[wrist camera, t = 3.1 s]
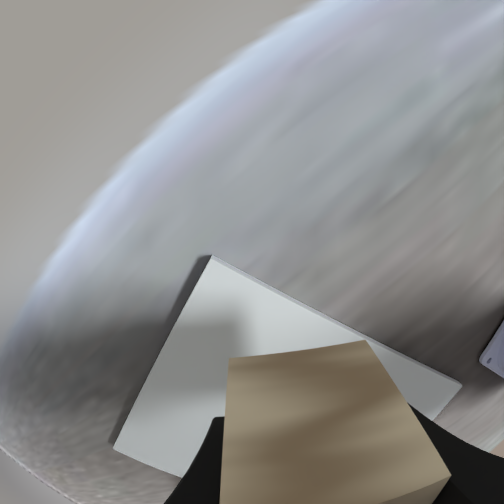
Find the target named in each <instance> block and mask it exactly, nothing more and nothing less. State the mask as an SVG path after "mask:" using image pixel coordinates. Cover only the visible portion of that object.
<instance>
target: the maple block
mask: <svg viewBox="0 0 504 504" xmlns="http://www.w3.org/2000/svg"><path fill="white" fill-rule="evenodd" d="M450 477H451V474H450V472H449V470H448V468H447V467H446V465H445V463H444V462H443V460H442V458H441V457H440V455H439V453H438V452H437V450H436V448H435V447H434V445H433V443H432V442H431V440H430V438H429V437H428V435H427V433H426V432H425V430H424V429H423V427H422V425H421V424H420V422H419V421H418V419H417V417H416V416H415V414H414V413H413V411H412V409H411V408H410V406H409V405H408V403H407V402H406V400H405V398H404V397H403V395H402V394H401V392H400V391H399V389H398V388H397V386H396V384H395V383H394V381H393V380H392V378H391V377H390V375H389V374H388V372H387V371H386V369H385V368H384V366H383V365H382V363H381V362H380V360H379V359H378V357H377V356H376V354H375V353H374V351H373V350H372V348H371V347H370V345H369V344H368V342H367V341H366V340H360V341H355V342H349V343H344V344H338V345H332V346H326V347H319V348H313V349H306V350H299V351H291V352H283V353H275V354H266V355H257V356H247V357H236V358H229V362H228V376H227V390H226V405H225V420H224V435H223V452H222V469H221V487H220V504H432V503H433V501H434V500H435V499H436V497H437V496H438V494H439V493H440V491H441V490H442V489H443V487H444V486H445V484H446V483H447V481H448V480H449V478H450Z"/></svg>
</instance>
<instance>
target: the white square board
mask: <svg viewBox="0 0 504 504" xmlns="http://www.w3.org/2000/svg"><path fill="white" fill-rule="evenodd" d="M360 340H366V341H367V342H368V344H369V345H370V347H371V348H372V350H373V351H374V353H375V354H376V356H377V357H378V359H379V360H380V362H381V363H382V365H383V366H384V368H385V369H386V371H387V372H388V374H389V375H390V377H391V378H392V380H393V381H394V383H395V384H396V386H397V388H398V389H399V391H400V392H401V394H402V395H403V397H404V398H405V400H406V402H408V403H409V404H410V405H411V406H413V407H414V408H415V409H417V410H418V411H419V412H420V413H422V414H423V415H424V416H426V417H427V418H429V419H430V420H431V421H432V420H433V419H434V418H435V417H436V416H437V415H438V414H439V413H440V412H441V411H442V409H443V408H444V407H445V406H446V405H447V404H448V403H449V401H450V400H451V399H452V398H453V397H454V396H455V394H456V393H457V392H458V391H459V390H460V388H461V387H462V385H461V383H460V382H459V381H457V380H455V379H453V378H451V377H449V376H447V375H445V374H442V373H440V372H438V371H436V370H434V369H432V368H430V367H428V366H426V365H424V364H422V363H420V362H418V361H416V360H414V359H412V358H410V357H408V356H406V355H404V354H402V353H400V352H398V351H396V350H394V349H392V348H390V347H388V346H386V345H384V344H382V343H380V342H378V341H376V340H374V339H372V338H370V337H368V336H366V335H364V334H362V333H360V332H358V331H356V330H354V329H352V328H350V327H348V326H346V325H344V324H342V323H340V322H338V321H336V320H334V319H332V318H331V317H329V316H327V315H325V314H323V313H321V312H319V311H317V310H315V309H313V308H311V307H309V306H307V305H305V304H304V303H302V302H300V301H298V300H296V299H294V298H292V297H290V296H288V295H286V294H284V293H283V292H281V291H279V290H277V289H275V288H273V287H271V286H269V285H267V284H266V283H264V282H262V281H260V280H258V279H256V278H254V277H252V276H251V275H249V274H247V273H245V272H243V271H241V270H239V269H238V268H236V267H234V266H232V265H230V264H228V263H226V262H225V261H223V260H221V259H219V258H217V257H215V256H214V255H212V256H211V258H210V260H209V262H208V263H207V265H206V267H205V269H204V271H203V272H202V274H201V276H200V278H199V280H198V282H197V283H196V285H195V287H194V289H193V291H192V293H191V295H190V296H189V298H188V300H187V302H186V304H185V306H184V308H183V309H182V311H181V313H180V315H179V317H178V319H177V321H176V323H175V325H174V326H173V328H172V330H171V332H170V334H169V336H168V338H167V340H166V342H165V344H164V346H163V347H162V349H161V351H160V353H159V355H158V357H157V359H156V361H155V363H154V365H153V367H152V369H151V371H150V373H149V375H148V377H147V379H146V381H145V383H144V385H143V387H142V389H141V391H140V393H139V395H138V397H137V399H136V401H135V403H134V405H133V407H132V409H131V411H130V413H129V415H128V417H127V419H126V421H125V423H124V425H123V427H122V429H121V432H120V434H119V436H118V438H117V440H116V442H115V444H114V447H113V449H114V450H116V451H118V452H120V453H122V454H124V455H126V456H129V457H131V458H133V459H135V460H138V461H140V462H142V463H145V464H147V465H149V466H152V467H154V468H157V469H159V470H162V471H165V472H167V473H170V474H173V475H175V476H178V477H181V478H183V476H184V475H185V473H186V472H187V470H188V469H189V467H190V465H191V463H192V462H193V460H194V458H195V456H196V454H197V453H198V451H199V449H200V447H201V445H202V443H203V441H204V439H205V437H206V434H207V432H208V430H209V427H210V425H211V422H212V419H213V418H215V417H223V416H225V405H226V390H227V376H228V362H229V358H236V357H247V356H257V355H266V354H275V353H283V352H291V351H299V350H306V349H313V348H319V347H326V346H332V345H338V344H344V343H349V342H355V341H360Z"/></svg>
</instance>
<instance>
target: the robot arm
mask: <svg viewBox="0 0 504 504" xmlns="http://www.w3.org/2000/svg"><path fill="white" fill-rule="evenodd" d="M479 362H480V363H481V364H482V365H484V366H485V367H487V368H489V369H490V370H492V371H493V372H495V373H496V374H498V375H500V376H501V377H503V378H504V320H503V322H502V324H501V325H500V327H499V329H498V330H497V332H496V333H495V335H494V337H493V338H492V340H491V341H490V343H489V344H488V346H487V347H486V349H485V350H484V351H483V353H482V354H481V356H480V359H479ZM407 403H408V402H407ZM408 405H409V406H410V408H411V409H412V411H413V413H414V414H415V416H416V417H417V419H418V421H419V422H420V424H421V425H422V427H423V429H424V430H425V432H426V433H427V435H428V437H429V438H430V440H431V442H432V443H433V445H434V447H435V448H436V450H437V452H438V453H439V455H440V457H441V458H442V460H443V462H444V463H445V465H446V467H447V468H448V470H449V472H450V474H451V477H450V478H449V480H448V481H447V483H446V484H445V486H444V487H443V489H442V490H441V491H440V493H439V494H438V496H437V497H436V499H435V500H434V501H433V503H432V504H504V458H502V457H499V456H496V455H493V454H491V453H488V452H486V451H483V450H481V449H479V448H477V447H475V446H472V445H470V444H468V443H466V442H465V441H463V440H461V439H459V438H457V437H456V436H454V435H452V434H451V433H449V432H447V431H446V430H444V429H443V428H441V427H440V426H438V425H437V424H436V423H434V422H433V421H431V420H430V419H429V418H427V417H426V416H424V415H423V414H422V413H420V412H419V411H418V410H417V409H415V408H414V407H413V406H411V405H410V404H409V403H408ZM224 420H225V416H223V417H215V418H213V419H212V422H211V425H210V427H209V430H208V432H207V434H206V437H205V439H204V441H203V443H202V445H201V447H200V449H199V451H198V453H197V454H196V456H195V458H194V460H193V462H192V463H191V465H190V467H189V469H188V470H187V472H186V473H185V475H184V476H183V478H182V479H181V481H180V482H179V484H178V485H177V487H176V488H175V490H174V491H173V492H172V494H171V495H170V496H169V498H168V499H167V500H166V501H165V503H164V504H220V487H221V469H222V452H223V435H224Z"/></svg>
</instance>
